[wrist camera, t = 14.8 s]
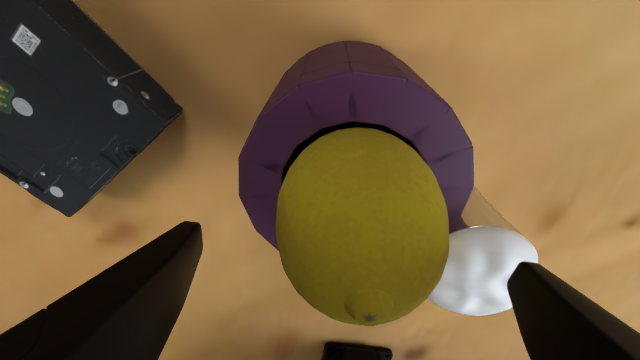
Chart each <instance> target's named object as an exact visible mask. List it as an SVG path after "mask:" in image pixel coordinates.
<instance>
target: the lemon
mask: <svg viewBox="0 0 640 360" xmlns="http://www.w3.org/2000/svg"><path fill="white" fill-rule="evenodd" d="M276 238H277V244H278V249H279V253H280V257H281V261H282V265H283V268H284V270H285V273H286V275H287V276H288V278H289V280H290V281H291V283H292V285H293V286H294V288H295V289H296V291H297V292H298V294H300V295H301V296H302V297H303V298H304V299H305V300H306V301H307V302H308V303H309V304H310V305H311V306H312V307H313V308H315V309H317V310H318V311H320V312H322V313H323V314H325V315H327V316H329V317H330V318H333V319H335V320H338V321H341V322H344V323H349V324H355V325H364V326H375V325H378V324H384V323H387V322H390V321H393V320H396V319H399V318H401V317H403V316H405V315H406V314H408V313H410V312H412V311H413V310H414V309H415V308H416V307H418V306H419V305H420V304H421V303H422V302H424V301H425V300H426V299H427V298H428V297H429V295H430V294H431V293H432V291H433V290H434V288H435V287H436V285H437V284H438V283H439V281H440V279H441V277H442V274H443V272H444V269H445V265H446V262H447V259H448V254H449V220H448V212H447V207H446V203H445V200H444V197H443V195H442V192H441V189H440V187H439V184H438V182H437V180H436V177H435V175H434V173H433V172H432V170H431V169H430V167H429V166H428V165H427V164H426V163H425V161H424V160H423V159H422V158H421V157H420V156H419V154H418V153H417V152H416V151H415V150H414V149H413V148H412V147H411V146H409V145H408V144H406V143H405V142H403V141H402V140H400V139H399V138H397V137H396V136H394V135H392V134H389V133H386V132H383V131H380V130H377V129H372V128H360V127H354V128H347V129H340V130H336V131H334V132H331V133H329V134H326V135H324V136H322V137H320V138H318V139H317V140H316V141H314V142H313V143H312V144H310V145H309V146H307V147H306V148H305V149H304V150H303V151H302V152H301V154H300V155H299V156H298V157H297V159H296V160H295V161H294V162H293V164H292V165H291V167H290V168H289V170H288V172H287V174H286V177H285V179H284V182H283V184H282V186H281V189H280V192H279V195H278V201H277V213H276Z"/></svg>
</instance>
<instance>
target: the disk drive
mask: <svg viewBox="0 0 640 360" xmlns="http://www.w3.org/2000/svg"><path fill="white" fill-rule="evenodd" d="M182 111H183V108H182V107H181V106H179V105H178V104H176V103H175V102H174V100H173V98H172V96H171V95H170V94H169V93H167V92H166V91H165V90H164V89H163V87H162V86H160V85H159V84H158V83H157V82H156V81H155V80H154V79H153V78H152V77H151V76H150V75H149V74H148V73H147V72H146V71H145V70H144V69H143V68H142V67H141V66H140V65H139V64H138V63H137V62H135V61H134V60H133V59H132V58H131V57H130V56H129V55H128V54H127V53H126V52H125V51H124V50H123V49H122V48H121V47H120V46H119V45H118V44H117V43H116V42H115V41H114V40H113V39H112V38H111V37H110V36H108V35H107V34H106V33H105V32H104V31H103V30H102V29H101V28H100V27H99V26H98V25H97V24H96V23H95V22H94V21H93V20H92V19H91V18H90V17H89V16H88V15H87V14H86V13H85V12H84V11H82V10H81V9H80V8H79V7H78V6H77V5H76V4H75V3H74V2H73V1H72V0H0V173H2V174H3V175H5V176H6V177H8V178H9V179H10V180H12V181H14V182H15V183H17V184H18V185H19V186H22V187H23V188H24V189H25V190H27V191H28V192H29V193H31V194H32V195H34V196H35V197H37V198H38V199H40V200H41V201H43V202H44V203H46V204H48V205H50V206H51V207H52V208H54V209H56V210H58V211H60V212H61V213H63V214H64V215H65V216H67V217H71V216H72V215H74V214H75V213H76V212H77V211H79V210H80V209H81V208H82V207H83V206H84V205H85V204H87V203H88V202H89V201H90V200H91V199H92V198H93V197H94V196H95V195H96V194H98V193H99V192H100V191H101V190H102V189H103V188H104V187H105V186H106V185H107V184H108V183H109V182H110V181H111V180H112V179H113V178H114V177H115V176H116V175H117V174H118V173H119V172H120V171H122V170H123V169H124V168H125V167H126V166H127V165H128V164H129V163H130V162H131V161H132V160H133V159H134V158H135V157H136V156H137V155H138V154H140V153H141V152H142V150H144V149H145V148H146V147H147V146H148V145H149V144H150V143H151V142H152V141H153V140H154V139H155V138H157V136H158V135H159V134H160V133H162V132H163V130H164V129H165V128H166V127H167V126H168V125H169V124H170V123H171V122H172V121H174V120H175V119H176V118H177V117H178V116H179V115H180V114H181V113H182Z"/></svg>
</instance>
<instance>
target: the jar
mask: <svg viewBox="0 0 640 360" xmlns="http://www.w3.org/2000/svg"><path fill="white" fill-rule="evenodd" d="M354 127H360V128H372V129H377V130H380V131H383V132H386V133H389V134H392V135H394V136H396V137H397V138H399V139H400V140H402V141H403V142H405V143H406V144H408V145H409V146H411V147H412V148H413V149H414V150H415V151H416V152H417V153H418V154H419V156H420V157H421V158H422V159H423V160H424V161H425V163H426V164H427V165H428V166H429V167H430V169H431V170H432V172H433V173H434V175H435V177H436V180H437V182H438V184H439V187H440V189H441V192H442V195H443V197H444V200H445V203H446V207H447V212H448V220H449V224H451V223H453V222H457V221H459V219H460V216H461V214H462V212H463V210H464V208H465V206H466V203H467V201H468V199H469V197H470V195H471V193H472V190H473V187H474V163H473V146H472V142H471V141H470V139H469V137H468V135H467V134H466V132H465V130H464V128H463V127H462V125H461V123H460V121H459V120H458V118H457V116H456V114H455V113H454V111H453V109H452V108H451V107H450V106H449V104H448V103H447V102H446V101H445V100H444V99H442V98H441V97H440V96H439V95H438V94H437V93H436V92H435V91H434V90H433V89H432V88H431V87H430V86H429V85H428V84H427V83H426V82H425V81H424V80H423V79H421V78H420V77H419V76H418V75H417V74H416V73H415V72H414V71H413V70H412V69H411V68H410V67H409V66H408V65H407V64H406V63H404V62H403V61H401V60H400V59H398V58H397V57H395V56H394V55H393V54H391V53H390V52H388V51H386V50H384V49H383V48H381V47H380V46H376V45H372V44H368V43H364V42H357V41H342V42H335V43H331V44H327V45H324V46H321V47H319V48H316V49H314V50H312V51H310V52H309V53H307V54H306V55H304V56H303V57H302V58H300V59H299V60H298V61H297V62H296V63H295V64H294V65H293V66H292V67H291V68H290V69H288V70H287V71H286V72H285V73H284V75H283V77H282V78H281V80H280V82H279V83H278V85H277V87H276V88H275V90H274V91H273V93H272V95H271V96H270V98H269V100H268V101H267V103H266V105H265V106H264V108H263V110H262V111H261V113H260V114H259V116H258V118H257V120H256V122H255V124H254V126H253V128H252V130H251V132H250V134H249V136H248V138H247V140H246V142H245V144H244V146H243V148H242V151H241V153H240V156H239V196H240V199H241V201H242V203H243V205H244V207H245V209H246V211H247V213H248V215H249V217H250V219H251V221H252V224H253V226H254V228H255V229H256V231H257V232H258V233H259V234H261V235H262V236H263V237H264V238H265V239H266V240H267V241H268V242H269V243H271V244H272V245H273V246H274V247H275V248H276V249H277V250H278V251H279V249H278V244H277V238H276V213H277V201H278V195H279V192H280V189H281V186H282V184H283V182H284V179H285V177H286V174H287V172H288V170H289V168H290V167H291V165H292V164H293V162H294V161H295V160H296V159H297V157H298V156H299V155H300V154H301V152H302V151H303V150H304V149H305V148H306V147H307V146H309V145H310V144H312V143H313V142H314V141H316V140H317V139H318V138H320V137H322V136H324V135H326V134H329V133H331V132H334V131H336V130H340V129H347V128H354Z"/></svg>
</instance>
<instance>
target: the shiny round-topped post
mask: <svg viewBox="0 0 640 360" xmlns="http://www.w3.org/2000/svg"><path fill="white" fill-rule="evenodd" d="M523 261H525V262H534V263H538V255H537V252H536V250H535V248H534V246H533V245H532V244H531V243H530V242H529V241H528V240H527V239H526V238H525V237H524V236H523V235H522V234H521V233H520V232H519V231H518V230H517V229H516V228H515V227H514V226H513V225H512V224H511V223H510V222H509V221H508V220H507V219H506V218H505V217H504V216H503V215H502V214H501V213H500V212H499V211H498V210H497V209H496V208H495V207H494V206H493V205H492V204H491V203H490V202H489V201H488V200H487V199H486V198H485V197H484V196H483V195H482V194H481V193H480V192H479V191H478V190H477V188H476V187H475V186H474V187H473V190H472V193H471V195H470V197H469V199H468V201H467V203H466V206H465V208H464V210H463V212H462V214H461V216H460V219H459V221H457V222H453V223H451V224H449V254H448V259H447V262H446V265H445V269H444V272H443V274H442V277H441V279H440V281H439V283H438V284H437V285H436V287H435V288H434V290H433V291H432V293H431V294H430V295H429V297H428V299H429V300H430V301H431V302H433V303H434V304H436V305H438V306H440V307H442V308H445V309H447V310H450V311H452V312H456V313H460V314H464V315H470V316H485V315H490V314H495V313H499V312H503V311H506V310H508V309H509V308H511V307H512V303H511V300H510V297H509V293H508V290H507V281H508V279H509V277H510V276H511V274H512V273H513V271H514V270H515V268H516V267H517V265H518V264H519V263H520V262H523Z"/></svg>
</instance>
